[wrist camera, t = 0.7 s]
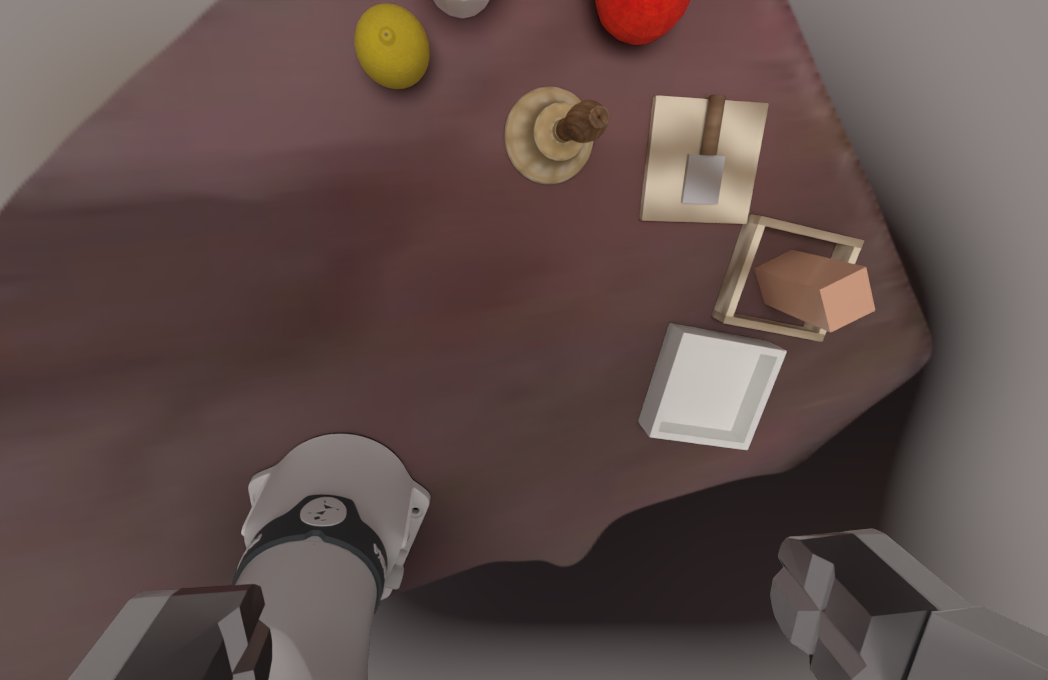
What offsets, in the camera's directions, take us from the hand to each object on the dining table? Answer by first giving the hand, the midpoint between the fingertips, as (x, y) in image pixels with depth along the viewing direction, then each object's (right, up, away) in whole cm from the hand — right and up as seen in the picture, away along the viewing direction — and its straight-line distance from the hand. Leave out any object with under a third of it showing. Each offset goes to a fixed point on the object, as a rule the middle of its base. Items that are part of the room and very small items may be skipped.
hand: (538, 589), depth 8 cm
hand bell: (+2, +23, +38) cm, 44 cm away
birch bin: (+27, +11, +45) cm, 53 cm away
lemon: (-11, +28, +34) cm, 45 cm away
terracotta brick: (+27, +11, +45) cm, 54 cm away
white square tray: (+20, -1, +48) cm, 52 cm away
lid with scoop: (+17, +21, +40) cm, 48 cm away
